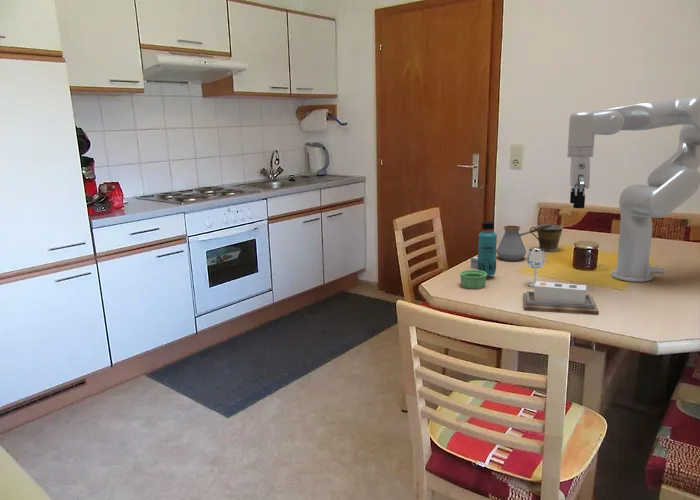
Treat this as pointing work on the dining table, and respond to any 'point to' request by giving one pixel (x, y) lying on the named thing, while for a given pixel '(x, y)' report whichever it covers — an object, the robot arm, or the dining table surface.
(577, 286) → the power strip
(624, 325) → the dining table surface
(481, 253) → the beverage bottle
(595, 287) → the dining table surface
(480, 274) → the ramekin
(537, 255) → the wineglass
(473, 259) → the usb wall charger
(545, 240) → the ceramic cup
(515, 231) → the coffee pot
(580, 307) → the board
